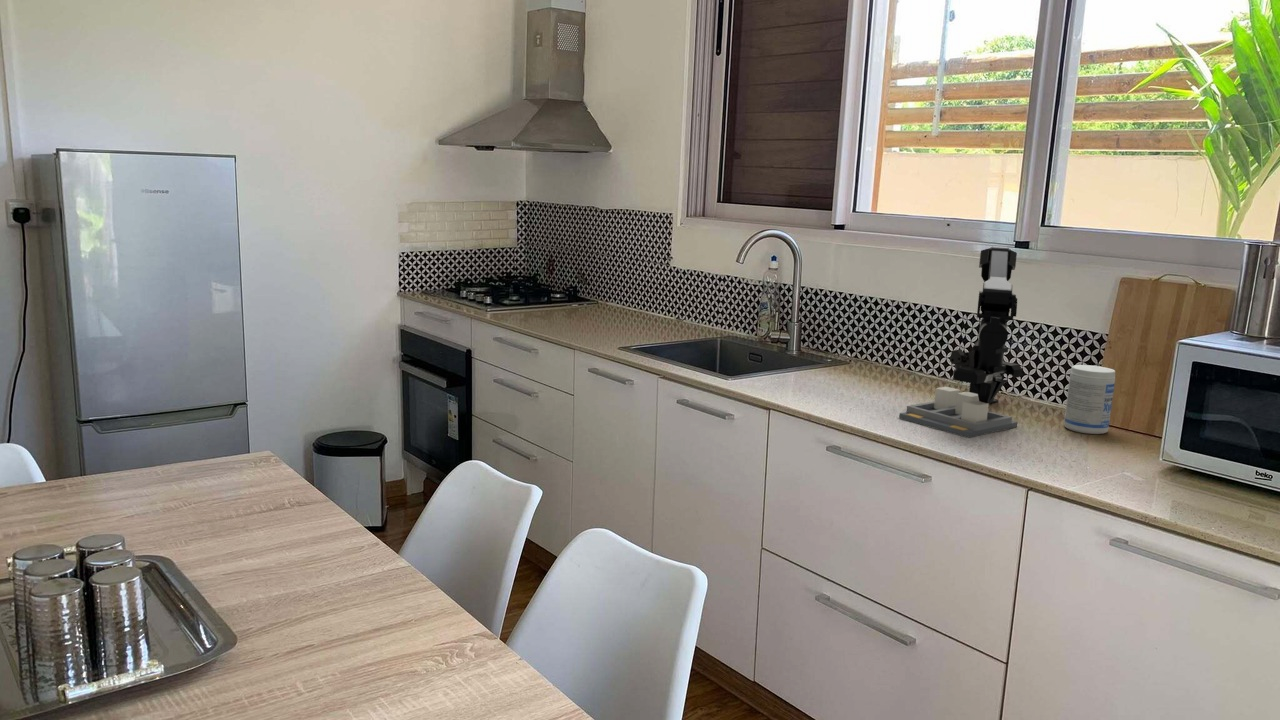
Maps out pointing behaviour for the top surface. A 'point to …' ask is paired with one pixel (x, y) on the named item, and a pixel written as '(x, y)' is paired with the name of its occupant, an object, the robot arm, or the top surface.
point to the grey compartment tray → (955, 420)
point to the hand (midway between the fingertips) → (983, 408)
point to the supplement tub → (1089, 399)
